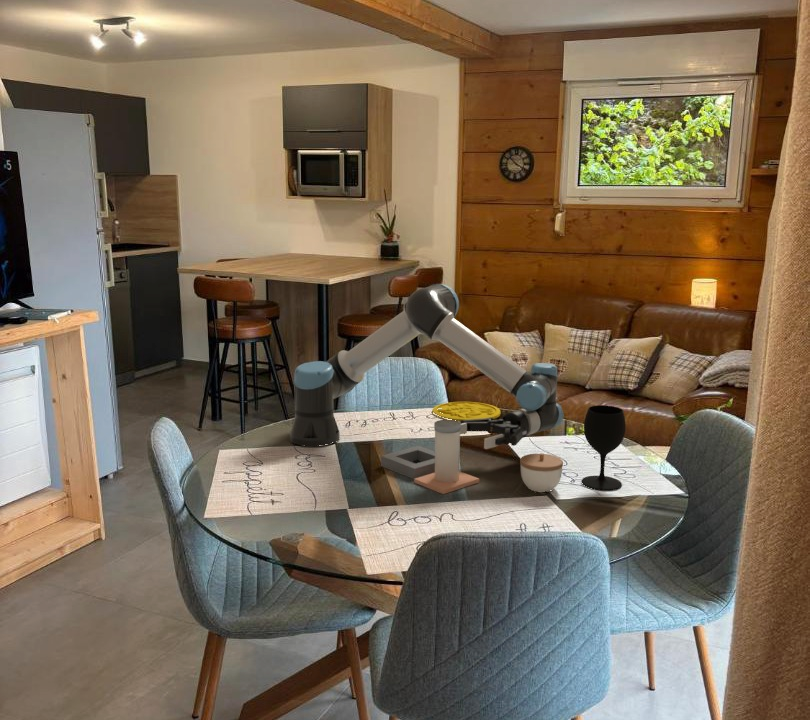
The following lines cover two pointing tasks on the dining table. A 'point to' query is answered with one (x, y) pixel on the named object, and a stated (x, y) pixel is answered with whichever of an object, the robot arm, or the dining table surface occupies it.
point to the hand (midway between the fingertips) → (466, 437)
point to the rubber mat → (446, 487)
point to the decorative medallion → (466, 410)
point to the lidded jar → (541, 471)
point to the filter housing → (410, 462)
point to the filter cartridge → (447, 450)
